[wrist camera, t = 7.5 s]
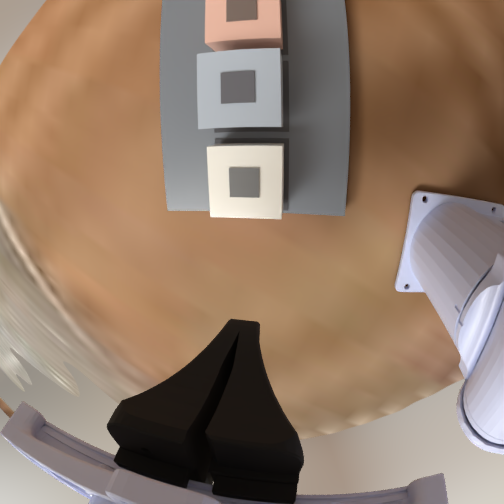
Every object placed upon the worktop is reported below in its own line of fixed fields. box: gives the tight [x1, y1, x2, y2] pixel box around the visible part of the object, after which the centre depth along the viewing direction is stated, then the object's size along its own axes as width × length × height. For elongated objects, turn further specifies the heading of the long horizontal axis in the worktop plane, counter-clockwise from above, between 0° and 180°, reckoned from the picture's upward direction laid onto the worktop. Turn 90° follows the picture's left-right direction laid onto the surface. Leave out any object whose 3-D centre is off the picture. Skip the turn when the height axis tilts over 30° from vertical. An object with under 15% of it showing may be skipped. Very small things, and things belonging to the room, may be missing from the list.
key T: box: [205, 0, 283, 52], centre depth 12 cm, size 4×4×2 cm
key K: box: [197, 48, 283, 129], centre depth 13 cm, size 4×4×2 cm
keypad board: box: [160, 0, 350, 216], centre depth 15 cm, size 12×20×1 cm, turn 1°
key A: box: [207, 143, 284, 219], centre depth 16 cm, size 4×4×2 cm
